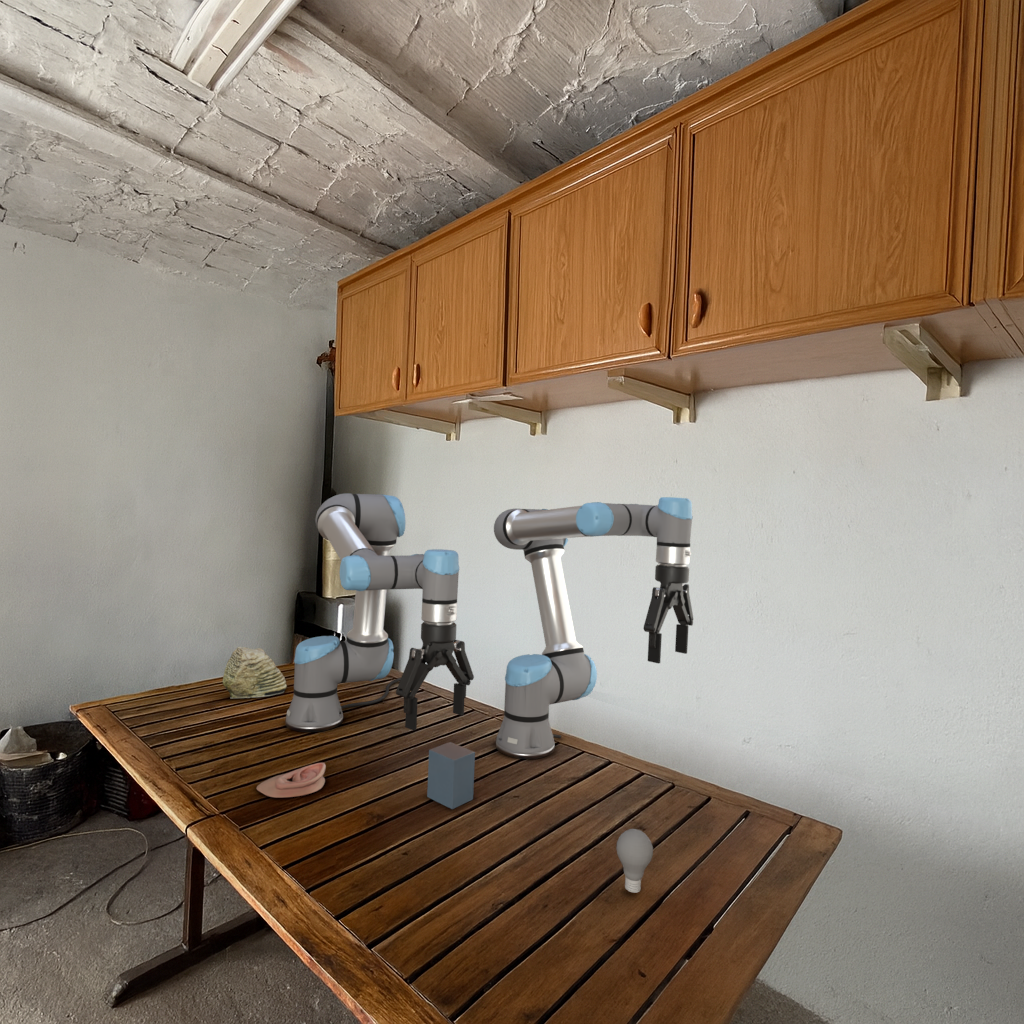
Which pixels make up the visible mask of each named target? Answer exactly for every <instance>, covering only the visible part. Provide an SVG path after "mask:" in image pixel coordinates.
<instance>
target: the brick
mask: <svg viewBox="0 0 1024 1024" xmlns="http://www.w3.org/2000/svg"><path fill="white" fill-rule="evenodd" d="M475 761H476V752H475V751H474V750H471V749H469V748H467V747H463V746H461V745H459V744H456V743H454V742H451V741H449V742H446V743H444V744H441V745H438V746H435V747H433V748H429V749H428V765H427V766H428V767H427V789H426V790H427V791H426V797H427V798H429V799H431V800H433V801H435V802H436V803H438V804H441V805H443V806H445V807H447V808H449V809H450V810H454V809H456V808H458V807H460V806H462V805H464V804H466V803H469V802H470V801H473V800H474V787H475V766H476V765H475V764H476V762H475Z"/></svg>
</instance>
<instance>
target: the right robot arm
mask: <svg viewBox="0 0 1024 1024" xmlns="http://www.w3.org/2000/svg"><path fill="white" fill-rule="evenodd" d="M693 517H694V516H693V502H692V500H691V499H690V498H687V497H671V496H661V497H660V498H659V499H658V504H656V505H653V504H638V503H612V502H611V503H609V502H601V501H593V502H586V503H583V504H582V505H576V506H566V507H559V508H551V509H547V508H542V509H540V508H539V509H538V508H537V509H535V508H510V509H506V510H504V511H502V512H501V513H499V515H498V516H497V517H496V518H495V520H494V523H493V533H494V537H495V539H496V540H497V542H498V543H499V544H500V545H501V546H503V547H505V548H506V549H510V550H523V555H524V560H526V561H528V562H529V563H530V565H531V570H532V576H533V581H534V587H535V593H536V599H537V604H538V610H539V615H540V621H541V627H542V633H543V638H544V644H545V647H544V649H543V650H542V653H541V654H540V653H539V654H538V653H532V654H529V653H528V654H522V655H521V654H520V655H518V656H515V657H513V658H512V659H510V660H509V661H508V663H507V665H506V670H505V676H504V681H505V686H504V687H505V688H504V709H503V712H504V713H503V719H502V721H501V725H500V727H499V729H498V733H497V735H496V738H495V748H496V750H497V751H498V752H500V753H501V754H503V755H505V756H506V757H507V756H508V757H511V758H515V759H522V760H536V759H542V758H546V757H548V756H550V755H552V754H553V753H554V751H555V739H561V738H562V735H560V734H555V733H553V731H552V727H551V724H550V720H549V719H550V718H549V717H550V706H551V705H556V704H561V703H564V702H565V703H566V702H569V701H578V700H580V699H583V698H586V697H587V696H589V695H590V694H591V693H592V692H593V690H594V688H595V687H596V684H597V679H598V672H597V671H598V670H597V665H596V663H595V662H594V660H593V659H592V657H591V656H590V655H588V654H586V653H585V650H584V646H583V645H582V644H580V643H579V642H578V641H577V638H576V632H575V628H574V621H573V617H572V611H571V607H570V601H569V595H568V590H567V584H566V580H565V575H564V569H563V563H562V559H561V558H562V556H563V555H564V553H565V547H566V546H567V544H568V542H569V539H573V538H587V537H588V538H589V537H590V538H591V537H592V538H593V537H609V536H611V537H612V536H614V537H615V536H618V537H623V536H624V537H652V538H656V547H655V548H656V549H655V562H656V563H657V564H656V565H655V569H654V570H655V571H654V579H655V581H656V582H659V584H660V585H659V587H657V586H653V588H652V591H651V599H650V603H649V605H648V609H647V612H646V615H645V616H646V617H645V620H644V624H643V628H642V629H643V631H644V633H645V632H646V633H648V643H647V644H648V645H647V646H648V647H647V662H650V663H654V664H661V657H662V655H661V654H662V633H661V630H662V627H663V625H664V622H665V620H666V617H667V615H668V612H669V611H670V610H671V609H673V612H674V614H675V618H676V620H677V624H676V625H675V646H674V647H675V648H674V649H675V650H674V652H675V653H679V654H685V655H687V654H688V647H689V646H688V644H689V626H691V627H693V625H694V613H693V607H692V603H691V602H692V601H691V596H690V584H688V583H689V581H690V567H689V566H688V565H689V564H690V561H691V560H690V558H691V556H692V552H691V533H692V524H693V523H692V522H693ZM554 738H555V739H554Z"/></svg>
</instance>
